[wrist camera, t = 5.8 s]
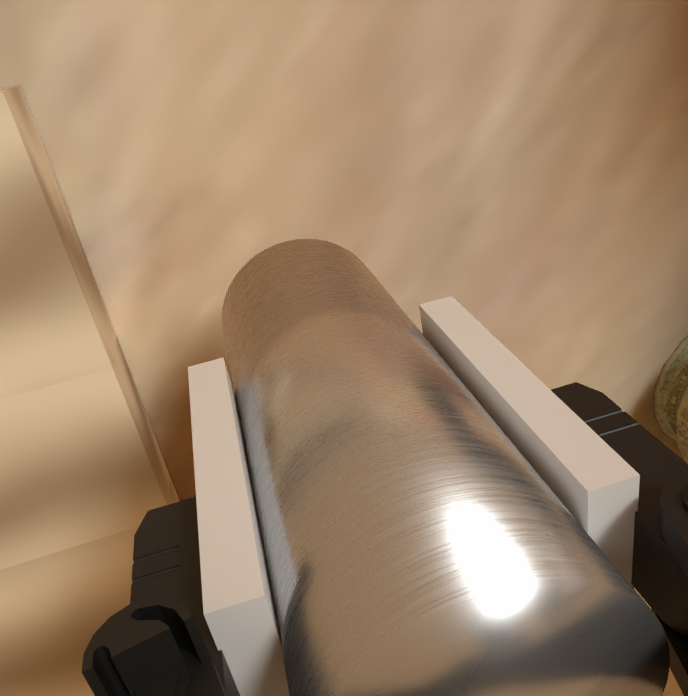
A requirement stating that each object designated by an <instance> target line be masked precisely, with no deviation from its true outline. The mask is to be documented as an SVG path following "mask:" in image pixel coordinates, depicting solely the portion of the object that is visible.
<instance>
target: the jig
mask: <svg viewBox="0 0 688 696" xmlns="http://www.w3.org/2000/svg"><path fill="white" fill-rule="evenodd" d="M176 502H179V498H178V495H177V493H176V490H175V488H174V485H173V482H172V480H171V477H170V474H169V472H168V469H167V467H166V464H165V461H164V459H163V456H162V454H161V451H160V448H159V446H158V443H157V441H156V438H155V435H154V433H153V430H152V428H151V425H150V422H149V420H148V417H147V415H146V412H145V409H144V407H143V404H142V401H141V399H140V396H139V394H138V391H137V388H136V386H135V383H134V381H133V378H132V375H131V373H130V370H129V368H128V365H127V362H126V360H125V357H124V355H123V352H122V349H121V347H120V344H119V341H118V339H117V336H116V334H115V331H114V328H113V326H112V323H111V321H110V318H109V315H108V313H107V310H106V308H105V305H104V302H103V300H102V297H101V295H100V292H99V289H98V287H97V284H96V282H95V279H94V276H93V274H92V271H91V268H90V266H89V263H88V261H87V258H86V255H85V253H84V250H83V248H82V245H81V242H80V240H79V237H78V235H77V232H76V229H75V227H74V224H73V222H72V219H71V216H70V214H69V211H68V208H67V206H66V203H65V201H64V198H63V195H62V193H61V190H60V188H59V185H58V182H57V180H56V177H55V175H54V172H53V169H52V167H51V164H50V162H49V159H48V156H47V154H46V151H45V149H44V146H43V143H42V141H41V138H40V135H39V133H38V130H37V128H36V125H35V122H34V120H33V117H32V115H31V112H30V109H29V107H28V104H27V102H26V99H25V96H24V94H23V91H22V89H21V86H20V85H18V86H13V87H8V88H3V89H0V696H95V695H94V693H93V692H92V690H91V688H90V686H89V685H88V683H87V681H86V679H85V678H84V676H83V674H82V663H83V653H84V652H85V650H86V648H87V646H88V644H89V642H90V640H91V638H92V636H93V634H94V633H95V632H96V631H97V630H98V629H99V628H100V627H101V626H102V625H103V624H104V623H105V622H106V620H107V619H108V618H109V617H111V616H112V615H114V614H115V613H117V612H118V611H120V610H122V609H123V608H125V607H126V606H128V605H129V604H130V597H131V584H133V583H132V565H133V564H134V561H133V549H134V535H135V533H136V531H137V529H138V528H139V526H140V524H141V522H142V520H143V519H144V517H145V515H146V513H147V511H149V510H152V509H155V508H159V507H162V506H165V505H169V504H172V503H176Z"/></svg>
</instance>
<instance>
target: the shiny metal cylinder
mask: <svg viewBox="0 0 688 696" xmlns="http://www.w3.org/2000/svg"><path fill="white" fill-rule="evenodd" d="M222 330H223V335H224V340H225V346H226V351H227V357H228V362H229V368H230V373H231V379H232V384H233V389H234V394H235V397H236V403H237V408H238V414H239V419H240V424H241V430H242V435H243V441H244V446H245V451H246V457H247V462H248V467H249V473H250V478H251V484H252V489H253V494H254V500H255V505H256V511H257V516H258V521H259V527H260V532H261V537H262V543H263V548H264V554H265V559H266V564H267V570H268V575H269V581H270V586H271V591H272V597H273V602H274V607H275V613H276V618H277V624H278V629H279V634H280V640H281V645H282V656H283V662H284V667H285V673H286V678H287V684H288V689H289V694H290V696H662V694H663V691H664V688H665V685H666V683H667V678H668V672H669V667H670V650H669V645H668V640H667V636H666V634H665V631H664V629H663V627H662V624H661V623H660V621H659V620H658V619H657V617H656V616H655V615H654V613H653V612H652V611H651V610H650V608H649V607H648V606H647V605H646V604H645V602H644V601H643V600H642V599H641V598H640V596H639V595H638V594H637V593H636V591H635V590H634V589H633V588H632V587H631V585H630V584H629V583H628V582H627V581H626V579H625V578H624V577H623V576H622V575H621V573H620V572H619V571H618V570H617V569H616V567H615V566H614V565H613V564H612V562H611V561H610V560H609V559H608V558H607V556H606V555H605V554H604V553H603V552H602V550H601V549H600V548H599V547H598V546H597V544H596V543H595V542H594V541H593V540H592V538H591V537H590V536H589V535H588V534H587V532H586V531H585V530H584V529H583V527H582V526H581V525H580V524H579V523H578V521H577V520H576V519H575V518H574V517H573V515H572V514H571V513H570V512H569V511H568V509H567V508H566V507H565V506H564V505H563V503H562V502H561V501H560V500H559V498H558V497H557V496H556V495H555V494H554V492H553V491H552V490H551V489H550V488H549V486H548V485H547V484H546V483H545V482H544V480H543V479H542V478H541V477H540V476H539V474H538V473H537V472H536V471H535V470H534V468H533V467H532V466H531V465H530V463H529V462H528V461H527V460H526V459H525V457H524V456H523V455H522V454H521V453H520V451H519V450H518V449H517V448H516V447H515V445H514V444H513V443H512V442H511V441H510V439H509V438H508V437H507V436H506V434H505V433H504V432H503V431H502V430H501V428H500V427H499V426H498V425H497V424H496V422H495V421H494V420H493V419H492V418H491V416H490V415H489V414H488V413H487V412H486V410H485V409H484V408H483V407H482V405H481V404H480V403H479V402H478V401H477V399H476V398H475V397H474V396H473V395H472V393H471V392H470V391H469V390H468V389H467V387H466V386H465V385H464V384H463V383H462V381H461V380H460V379H459V378H458V377H457V375H456V374H455V373H454V372H453V370H452V369H451V368H450V367H449V366H448V364H447V363H446V362H445V361H444V360H443V358H442V357H441V356H440V355H439V354H438V352H437V351H436V350H435V349H434V348H433V346H432V345H431V344H430V343H429V341H428V340H427V339H426V338H425V337H424V335H423V334H422V333H421V332H420V331H419V329H418V328H417V327H416V326H415V325H414V323H413V322H412V321H411V320H410V319H409V317H408V316H407V315H406V314H405V313H404V311H403V310H402V309H401V308H400V306H399V305H398V304H397V303H396V302H395V300H394V299H393V298H392V297H391V296H390V294H389V293H388V292H387V291H386V290H385V288H384V287H383V286H382V285H381V284H380V282H379V281H378V280H377V279H376V277H375V276H374V275H373V274H372V273H371V271H370V270H369V269H368V268H367V267H366V265H365V264H364V263H363V262H362V261H361V260H360V259H359V258H358V257H357V256H356V255H354V254H353V253H351V252H350V251H349V250H347V249H345V248H343V247H341V246H339V245H336V244H334V243H331V242H327V241H323V240H316V239H297V240H291V241H286V242H283V243H280V244H276V245H274V246H272V247H270V248H267V249H265V250H264V251H262V252H260V253H259V254H257V255H256V256H254V257H253V258H252V259H251V260H250V261H248V262H247V263H246V264H245V265H244V266H243V267H242V268H241V270H240V271H239V272H238V273H237V275H236V276H235V278H234V279H233V281H232V283H231V284H230V286H229V288H228V291H227V293H226V296H225V299H224V303H223V308H222Z"/></svg>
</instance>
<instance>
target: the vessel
mask: <svg viewBox="0 0 688 696" xmlns="http://www.w3.org/2000/svg"><path fill="white" fill-rule="evenodd" d="M654 415H655V417H656V419H657V421H658V423H659V425H660V427H661V428H662V430H663V432H664V433H665V434H666V435H668V436H670V437H671V438H673V439H674V440H676V441H677V446H678V448H679V451H680V453H681V455H682V457H683V459H684V461H685V462H686V464H687V465H688V336H687V337H685V338H684V339H683V340H682V341H681V342H680V344H679V345H678V346H677V348H676V349H675V351H674V352H673V353H672V355H671V356H670V358H669V359H668V360H667V362H666V363H665V364H664V366H663V368H662V371H661V374H660V376H659V379H658V382H657V385H656V387H655V390H654Z"/></svg>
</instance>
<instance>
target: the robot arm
mask: <svg viewBox="0 0 688 696" xmlns="http://www.w3.org/2000/svg"><path fill="white" fill-rule="evenodd" d="M419 307H420V315H421V322H422V330H423V335H424V337H425V338H426V339H427V340H428V341H429V343H430V344H431V345H432V346H433V348H434V349H435V350H436V351H437V352H438V354H439V355H440V356H441V357H442V358H443V360H444V361H445V362H446V363H447V364H448V366H449V367H450V368H451V369H452V370H453V372H454V373H455V374H456V375H457V377H458V378H459V379H460V380H461V381H462V383H463V384H464V385H465V386H466V387H467V389H468V390H469V391H470V392H471V393H472V395H473V396H474V397H475V398H476V399H477V401H478V402H479V403H480V404H481V405H482V407H483V408H484V409H485V410H486V412H487V413H488V414H489V415H490V416H491V418H492V419H493V420H494V421H495V422H496V424H497V425H498V426H499V427H500V428H501V430H502V431H503V432H504V433H505V434H506V436H507V437H508V438H509V439H510V441H511V442H512V443H513V444H514V445H515V447H516V448H517V449H518V450H519V451H520V453H521V454H522V455H523V456H524V457H525V459H526V460H527V461H528V462H529V463H530V465H531V466H532V467H533V468H534V470H535V471H536V472H537V473H538V474H539V476H540V477H541V478H542V479H543V480H544V482H545V483H546V484H547V485H548V486H549V488H550V489H551V490H552V491H553V492H554V494H555V495H556V496H557V497H558V498H559V500H560V501H561V502H562V503H563V505H564V506H565V507H566V508H567V509H568V511H569V512H570V513H571V514H572V515H573V517H574V518H575V519H576V520H577V521H578V523H579V524H580V525H581V526H582V527H583V529H584V530H585V531H586V532H587V534H588V535H589V536H590V537H591V538H592V540H593V541H594V542H595V543H596V544H597V546H598V547H599V548H600V549H601V550H602V552H603V553H604V554H605V555H606V556H607V558H608V559H609V560H610V561H611V562H612V564H613V565H614V566H615V567H616V569H617V570H618V571H619V572H620V573H621V575H622V576H623V577H624V578H625V579H626V581H627V582H628V583H629V584H630V585H631V587H632V588H633V589H634V587H635V588H636V590H637V591H638V592H639V593H640V594H641V596H642V597H643V598H644V599H645V600H646V602H647V603H648V604H649V605H650V606H651V608H652V609H651V611H652V612H653V613H654V615H655V616H656V617H657V619H658V620H659V621H660V623H661V624H662V627H663V629H664V631H665V634H666V636H667V640H668V645H669V650H670V669H671V671H672V673H673V675H674V677H675V679H676V681H677V683H678V685H679V686H680V688H681V690H682V692H683V694H684V696H688V465H687V464H686V463H685V462H684V461H683V460H682V459H680V458H679V457H678V456H677V455H676V454H674V453H673V452H672V451H671V450H670V449H668V448H667V447H666V446H665V445H664V444H663V443H661V442H660V441H659V440H658V439H657V438H655V437H654V436H653V435H652V434H651V433H649V432H648V431H647V430H646V429H645V428H644V427H642V426H641V425H639V426H638V425H637V422H636V421H635V420H634V419H633V418H632V417H631V416H629V415H628V414H627V413H626V412H622V410H621V408H620V407H619V406H617V405H616V404H615V403H614V402H613V401H612V400H610V399H609V398H608V397H607V396H606V395H604V394H603V393H601V392H599V391H597V390H594V389H592V388H589V387H587V386H584V385H582V384H579V383H577V382H576V383H572V384H569V385H565V386H562V387H559V388H555V389H552V390H550V389H549V388H548V387H547V386H546V385H545V384H544V383H543V382H542V381H540V380H539V379H538V378H537V377H536V376H535V375H534V374H533V373H532V372H531V371H530V370H529V369H528V368H527V367H526V366H525V365H524V364H523V363H522V362H520V361H519V360H518V359H517V358H516V357H515V356H514V355H513V354H512V353H511V352H510V351H509V350H508V349H507V348H506V347H505V346H504V345H503V344H502V343H500V342H499V341H498V340H497V339H496V338H495V337H494V336H493V335H492V334H491V333H490V332H489V331H488V330H487V329H486V328H485V327H484V326H483V325H482V324H480V323H479V322H478V321H477V320H476V319H475V318H474V317H473V316H472V315H471V314H470V313H469V312H468V311H467V310H466V309H465V308H464V307H463V306H462V305H460V304H459V303H458V302H457V301H456V300H455V299H454V298H453V297H452V296H450V297H446V298H443V299H439V300H435V301H432V302H428V303H424V304H420V305H419ZM188 377H189V393H190V409H191V424H192V440H193V456H194V472H195V488H196V497H193V498H189V499H186V500H182V501H179V502H176V503H172V504H169V505H165V506H162V507H159V508H155V509H152V510H149V511H147V513H146V515H145V517H144V519H143V520H142V522H141V524H140V526H139V528H138V529H137V531H136V533H135V535H134V549H133V561H134V564H133V565H132V583H133V584H131V597H130V604H129V605H128V606H126V607H125V608H123V609H122V610H120V611H118V612H117V613H115V614H114V615H112V616H111V617H109V618H108V619H107V620H106V622H105V623H104V624H103V625H102V626H101V627H100V628H99V629H98V630H97V631H96V632H95V633H94V634H93V636H92V638H91V640H90V642H89V644H88V646H87V648H86V650H85V652H84V653H83V663H82V674H83V676H84V678H85V679H86V681H87V683H88V685H89V686H90V688H91V690H92V692H93V693H94V695H95V696H290V694H289V689H288V684H287V678H286V673H285V667H284V662H283V656H282V645H281V640H280V634H279V629H278V624H277V618H276V613H275V607H274V602H273V597H272V591H271V586H270V581H269V575H268V570H267V564H266V559H265V554H264V548H263V543H262V537H261V532H260V527H259V521H258V516H257V511H256V505H255V500H254V494H253V489H252V484H251V478H250V473H249V467H248V462H247V457H246V451H245V446H244V441H243V435H242V430H241V424H240V419H239V414H238V408H237V403H236V397H235V394H234V390H233V387H232V384H231V380H230V377H229V374H228V371H227V367H226V364H225V361H224V357H223V358H219V359H216V360H212V361H208V362H204V363H201V364H197V365H193V366H190V367H188Z"/></svg>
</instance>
